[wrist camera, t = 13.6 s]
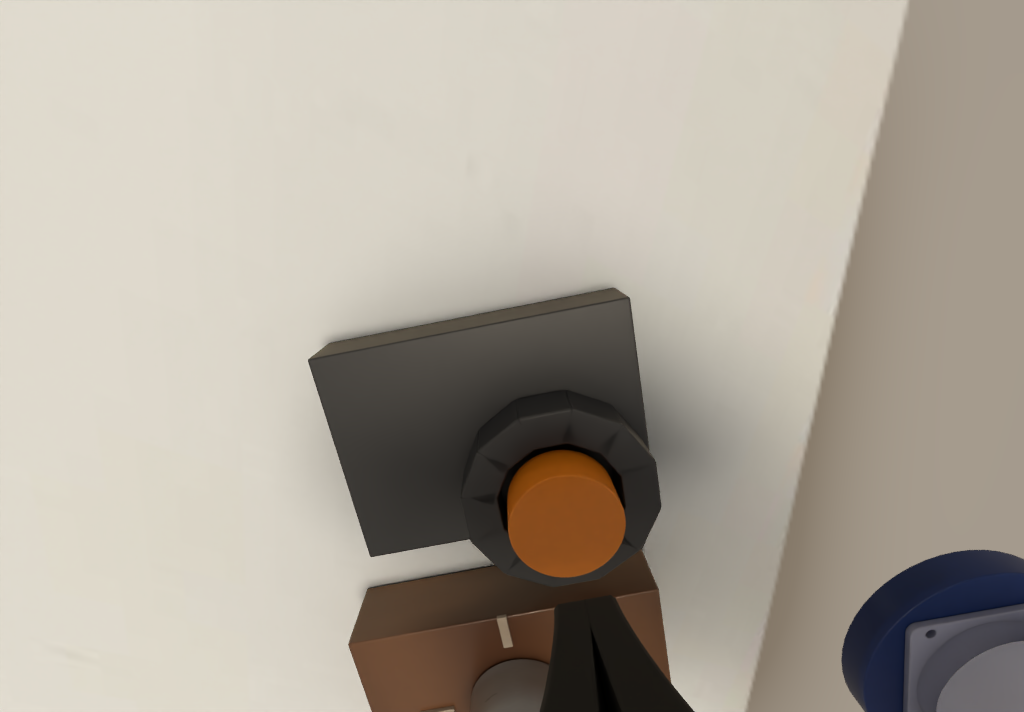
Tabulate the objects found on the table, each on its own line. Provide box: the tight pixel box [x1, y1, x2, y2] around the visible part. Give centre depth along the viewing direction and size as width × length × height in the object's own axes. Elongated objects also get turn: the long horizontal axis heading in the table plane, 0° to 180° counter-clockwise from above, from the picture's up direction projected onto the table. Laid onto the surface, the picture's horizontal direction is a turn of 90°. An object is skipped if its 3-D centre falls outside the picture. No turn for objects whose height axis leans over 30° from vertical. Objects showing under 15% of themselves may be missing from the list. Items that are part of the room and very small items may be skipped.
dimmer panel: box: [348, 549, 671, 712], centre depth 22 cm, size 12×8×3 cm
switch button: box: [507, 450, 626, 577], centre depth 16 cm, size 4×4×2 cm
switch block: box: [308, 288, 661, 587], centre depth 18 cm, size 11×9×4 cm
